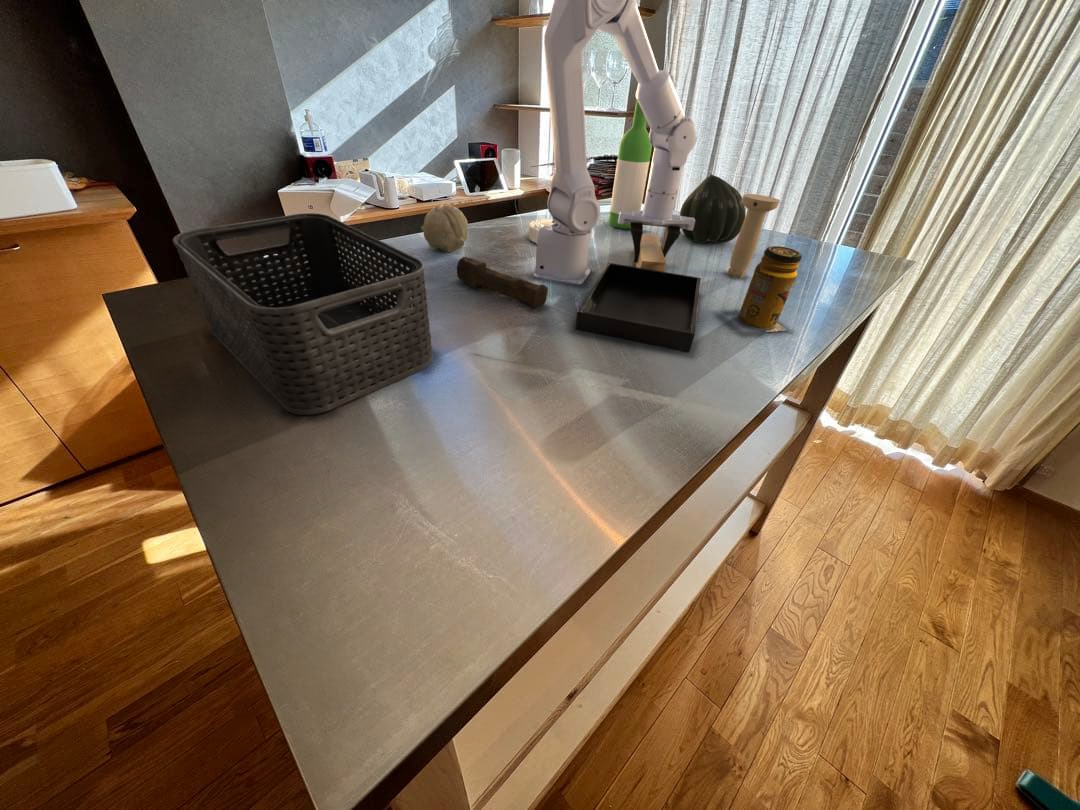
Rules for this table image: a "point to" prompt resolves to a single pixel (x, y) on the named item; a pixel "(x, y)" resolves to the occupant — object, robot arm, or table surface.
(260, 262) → the storage bin
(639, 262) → the stick
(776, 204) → the handle
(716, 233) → the squash
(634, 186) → the wine bottle
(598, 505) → the table surface
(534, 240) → the mooncake
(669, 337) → the black tray
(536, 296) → the hand tool
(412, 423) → the table surface
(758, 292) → the condiment
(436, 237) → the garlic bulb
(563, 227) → the robot arm
